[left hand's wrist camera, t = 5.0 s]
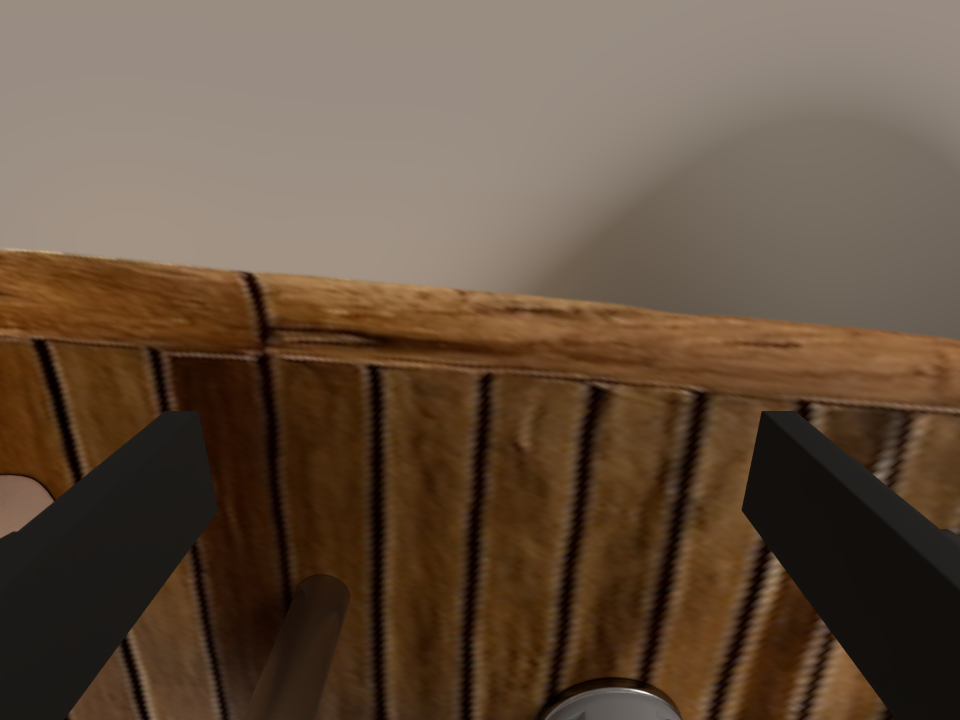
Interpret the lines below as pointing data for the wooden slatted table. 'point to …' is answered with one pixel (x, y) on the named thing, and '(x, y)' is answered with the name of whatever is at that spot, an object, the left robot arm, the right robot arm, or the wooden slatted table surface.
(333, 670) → the wooden slatted table surface
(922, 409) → the wooden slatted table surface
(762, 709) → the wooden slatted table surface
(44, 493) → the anatomical model
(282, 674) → the bottle
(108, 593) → the left robot arm
